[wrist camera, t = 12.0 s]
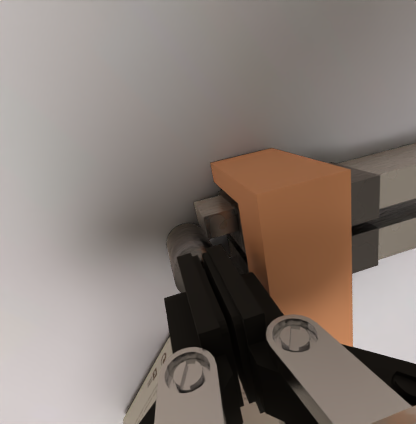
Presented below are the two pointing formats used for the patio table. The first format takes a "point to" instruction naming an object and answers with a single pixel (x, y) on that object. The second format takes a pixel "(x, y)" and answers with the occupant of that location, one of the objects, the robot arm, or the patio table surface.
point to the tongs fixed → (360, 167)
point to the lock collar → (296, 232)
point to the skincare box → (148, 394)
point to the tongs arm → (366, 238)
